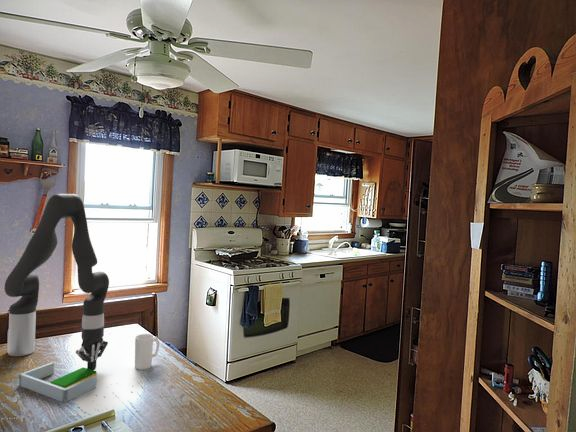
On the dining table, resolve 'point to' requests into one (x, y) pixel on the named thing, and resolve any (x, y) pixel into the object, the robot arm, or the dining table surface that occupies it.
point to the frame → (56, 392)
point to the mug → (145, 350)
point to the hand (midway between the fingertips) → (91, 370)
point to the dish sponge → (74, 377)
